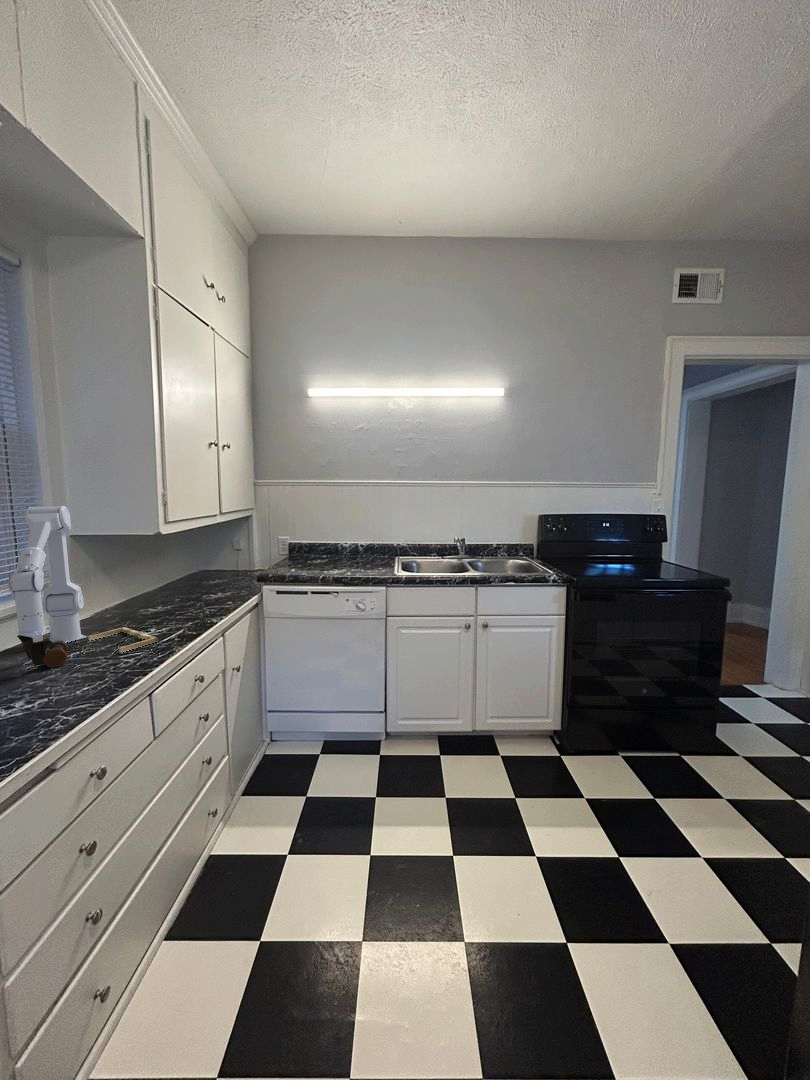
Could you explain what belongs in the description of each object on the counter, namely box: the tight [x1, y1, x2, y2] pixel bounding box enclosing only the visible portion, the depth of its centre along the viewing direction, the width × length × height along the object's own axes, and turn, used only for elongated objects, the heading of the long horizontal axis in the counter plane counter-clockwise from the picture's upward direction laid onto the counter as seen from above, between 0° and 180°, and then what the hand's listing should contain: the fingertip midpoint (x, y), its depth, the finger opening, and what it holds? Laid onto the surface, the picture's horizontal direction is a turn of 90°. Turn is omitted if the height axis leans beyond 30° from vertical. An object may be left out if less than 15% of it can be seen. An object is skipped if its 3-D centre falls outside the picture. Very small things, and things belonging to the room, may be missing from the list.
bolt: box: [43, 640, 69, 669], centre depth 138 cm, size 6×5×15 cm
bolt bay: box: [87, 626, 159, 654], centre depth 151 cm, size 21×11×2 cm, turn 56°
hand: (36, 661), depth 132 cm, fingers open, 7 cm apart
